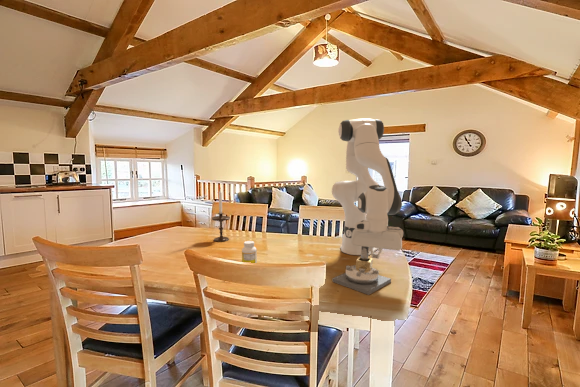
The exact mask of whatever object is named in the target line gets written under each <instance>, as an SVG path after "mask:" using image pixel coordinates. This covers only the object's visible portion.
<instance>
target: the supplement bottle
mask: <svg viewBox="0 0 580 387" xmlns="http://www.w3.org/2000/svg"><path fill="white" fill-rule="evenodd" d="M257 254H258V253H257V247H256V246H255V241H253V240H246V241H244V242H243V247H242V248H241V263H242V262H251V263H257V264H258V258H257V257H258V256H257Z"/></svg>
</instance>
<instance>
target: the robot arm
mask: <svg viewBox="0 0 580 387" xmlns="http://www.w3.org/2000/svg"><path fill="white" fill-rule="evenodd" d="M384 132H385V126H384V122H383V121H382V120H381V119H379V118H378V119H376V118H374V119H373V118H356V119H354V118H353V119H345V120H342V121H341V122H340V124H339V127H338V136H339V139H341V141H343V142H347V144H346V150H345V151H346V152H345V153H346V157H345V169H346V171H347V172H348V173H349V174H351V175H353V176H355V177H357V179H356V180H340V181H335V182H334V183H333V185H332V187H331V193H332V194H331V195H332V197H333V199H335V200H336V201H338V203H340V205H341V207H342V210H343V213H344V226H343V234H342V238H341V245H340V246H339V248H340V251H341V252H342V253H344V254H347V255H351V256H361V246H364V247H369V255H368V256H371V258H373V259H380V255H381V253H382V251H383V250H389V251H391V250H392V251H397V252H398V251H401V250H402V249H403V239H402V238H403V237H404V230H403V229H402V228H400V227H399V226H391V225H389V216H388V215H390V216H394V215H396V214H398V213H399V212H400V211H401V209H402V206H403V201H402V197H401V194H400V193H399V190H398V187H397V184H396V180H395V176H394V174H393V168H392V165H391V164H390V161H389V158H387V157H386V156H385V155H384V154H383V153H382V151H381V148H380V142H379V140H381V138H383V136H384ZM369 169H371V170H373V171H375V172H377V173H378V174H380V177H381V179H382V181H383V182H382V183H383V185H380V184H379V183H378V182H377V181H375V180H374V178H373V177H372V175H371V174H370V171H369ZM355 202H357V205H356V204H355ZM376 251H378V252H377V253H376Z"/></svg>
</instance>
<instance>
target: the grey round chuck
mask: <svg viewBox="0 0 580 387" xmlns="http://www.w3.org/2000/svg"><path fill="white" fill-rule="evenodd" d="M373 262H374V258H372V257H368V261H362V260H361V255H358V257H357V259H356V260H355V265H346V266H345V273H346V279H347V280H349V281H351V282H354V283H358V284H373V283H376V282H377V281H378V275H379V272H380V271H379V270H378V269H376V268H374V267H373Z"/></svg>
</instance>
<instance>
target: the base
mask: <svg viewBox="0 0 580 387" xmlns="http://www.w3.org/2000/svg"><path fill="white" fill-rule="evenodd" d="M331 281H332V282H333V283H335V284H338V285H340V286H343V287H346V288H349V289H351V290H354V291H356V292H359V293H362V294H365V295H368V296H370V295H371V294H373V293H375V292H376V291H378V290H380V289H382V288H384V287H386V286H387V285H389V284H391V283H392V278H391V277H387V276H384V275H380V274H378V281H377V282H376V283H373V284H358V283H354V282H351V281H349V280H347V279H346V272H344V273H341V274H339V275H337V276H335V277H332V280H331Z"/></svg>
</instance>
